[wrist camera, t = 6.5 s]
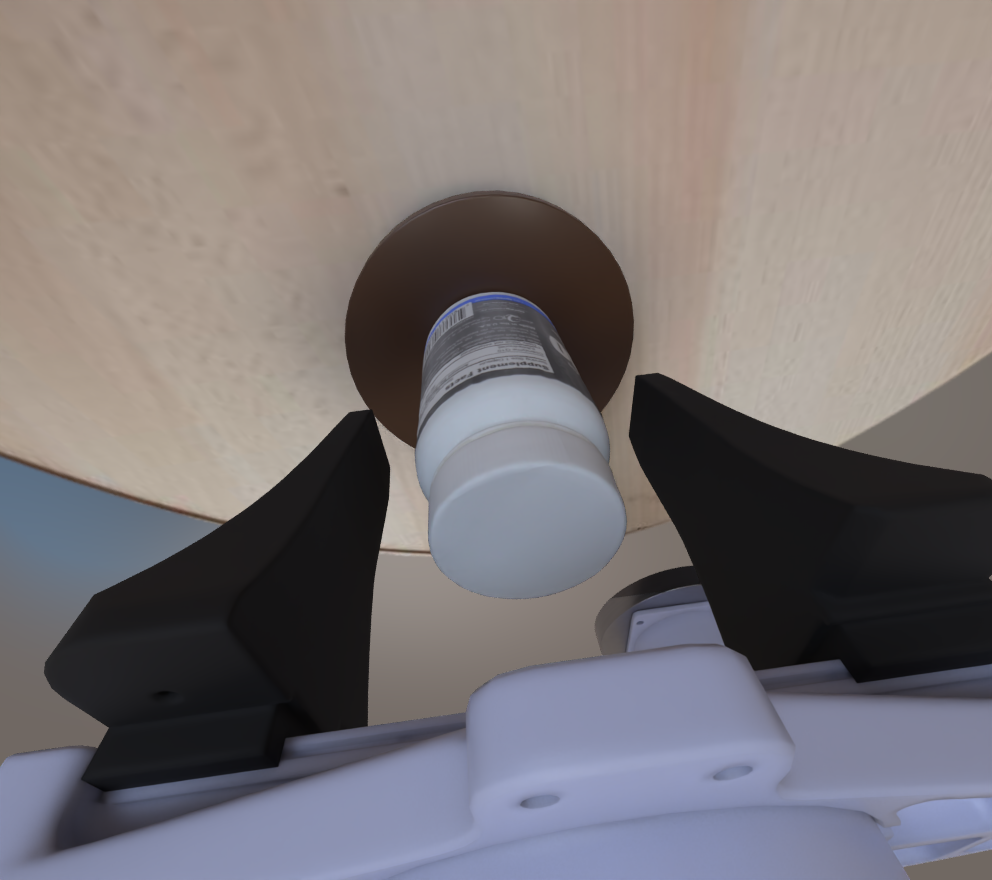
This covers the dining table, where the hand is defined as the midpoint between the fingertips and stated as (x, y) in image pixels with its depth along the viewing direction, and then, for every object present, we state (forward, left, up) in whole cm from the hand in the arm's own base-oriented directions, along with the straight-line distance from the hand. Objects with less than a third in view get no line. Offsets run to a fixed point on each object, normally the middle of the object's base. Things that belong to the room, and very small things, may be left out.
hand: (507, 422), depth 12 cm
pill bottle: (0, 0, -4) cm, 4 cm away
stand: (0, 0, -7) cm, 7 cm away
